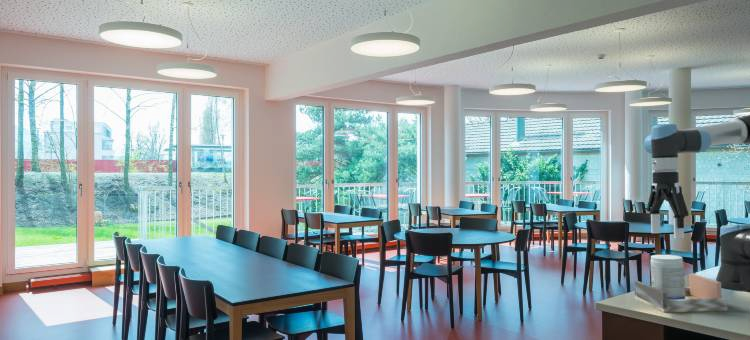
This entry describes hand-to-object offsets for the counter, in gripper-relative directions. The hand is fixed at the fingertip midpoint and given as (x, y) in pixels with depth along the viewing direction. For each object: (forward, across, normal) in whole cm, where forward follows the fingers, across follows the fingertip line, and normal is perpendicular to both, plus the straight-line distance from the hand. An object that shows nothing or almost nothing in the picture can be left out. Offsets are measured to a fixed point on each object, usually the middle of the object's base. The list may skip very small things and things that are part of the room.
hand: (667, 235), depth 170 cm
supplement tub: (+22, 0, 0) cm, 22 cm away
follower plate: (+21, 0, +12) cm, 24 cm away
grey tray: (+23, 0, +3) cm, 23 cm away
